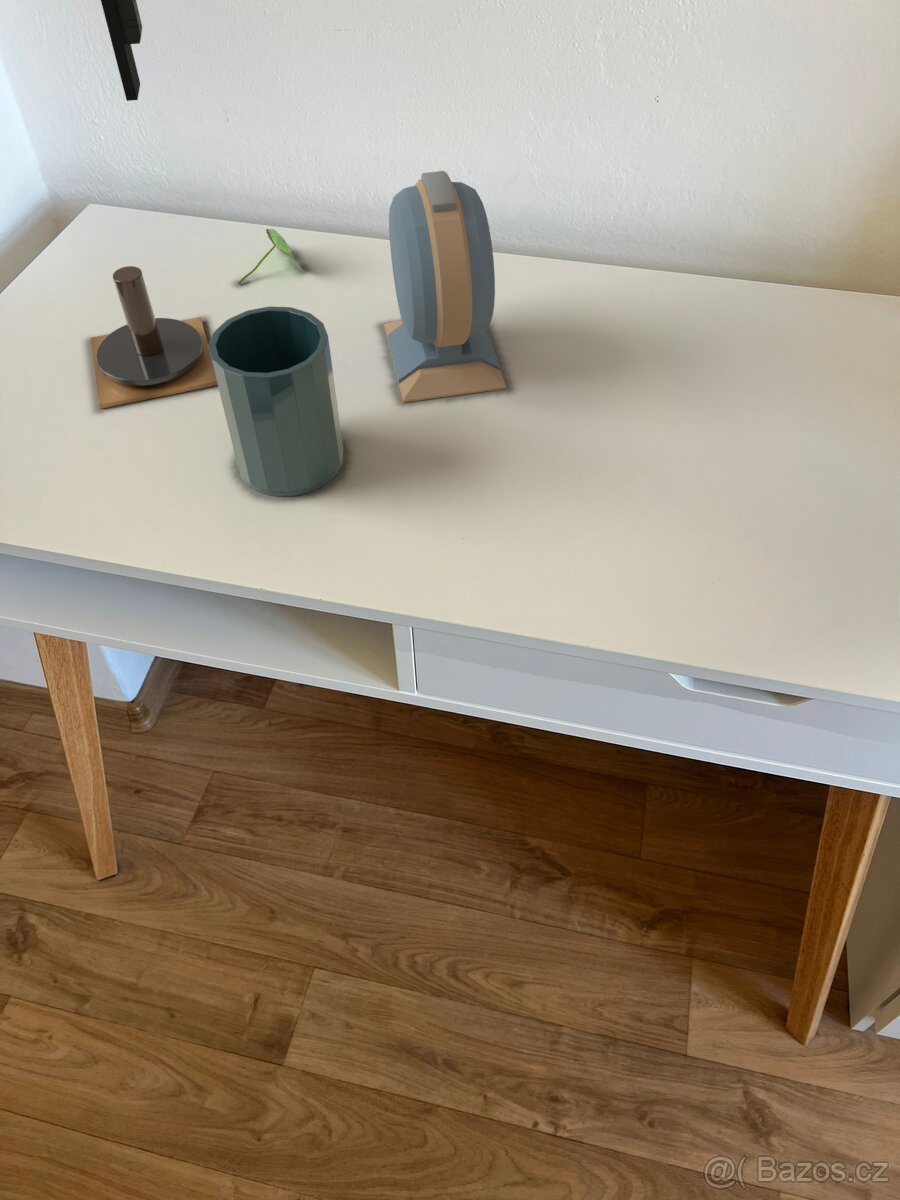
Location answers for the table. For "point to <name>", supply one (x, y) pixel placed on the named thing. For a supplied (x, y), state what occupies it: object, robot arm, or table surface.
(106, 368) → the lid
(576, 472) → the table surface
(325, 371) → the jar
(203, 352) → the mat
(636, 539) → the table surface
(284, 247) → the seedling
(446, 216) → the alarm clock
